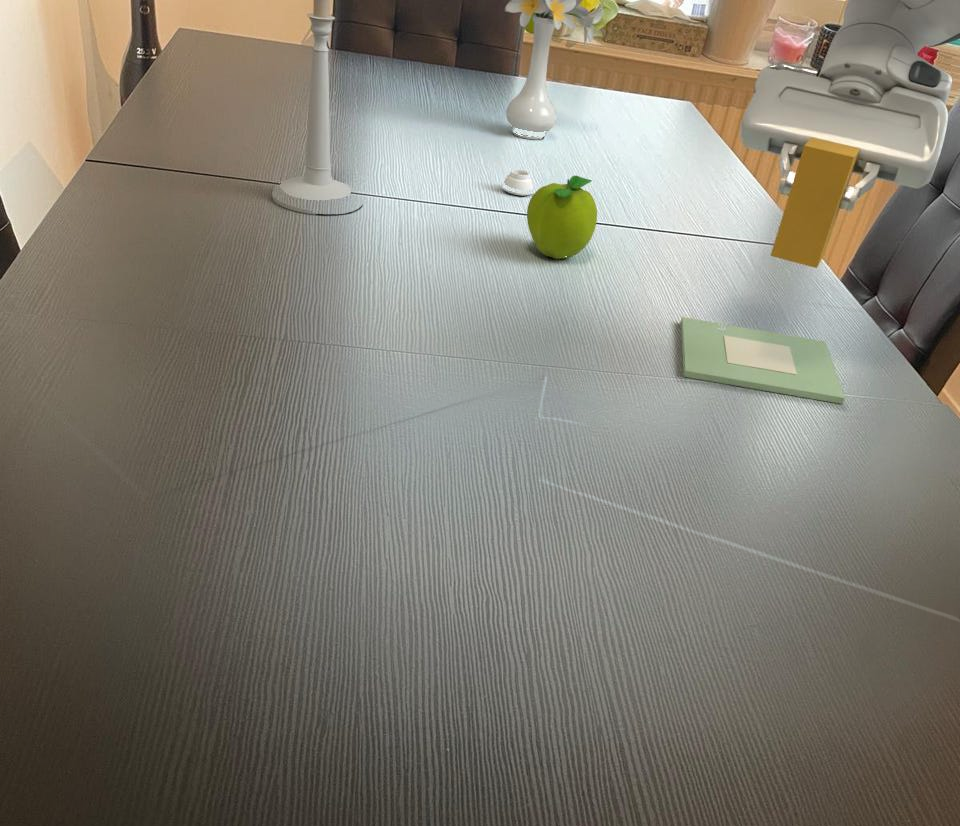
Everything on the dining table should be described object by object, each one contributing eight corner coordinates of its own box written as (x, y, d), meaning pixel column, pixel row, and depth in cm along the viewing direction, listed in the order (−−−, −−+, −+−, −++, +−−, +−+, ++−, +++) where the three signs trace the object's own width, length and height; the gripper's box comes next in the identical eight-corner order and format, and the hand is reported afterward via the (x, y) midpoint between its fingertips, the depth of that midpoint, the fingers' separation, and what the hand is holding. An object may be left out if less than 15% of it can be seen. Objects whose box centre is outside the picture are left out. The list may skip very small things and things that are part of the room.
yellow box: (779, 243, 112) (812, 135, 105) (824, 255, 110) (861, 147, 103) (770, 256, 108) (804, 145, 101) (816, 268, 107) (854, 156, 100)
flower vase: (579, 152, 184) (607, -10, 168) (479, 135, 184) (497, -28, 169) (583, 135, 194) (609, -19, 178) (487, 119, 194) (506, -36, 179)
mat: (823, 347, 126) (826, 340, 126) (842, 404, 114) (845, 397, 113) (680, 322, 127) (682, 315, 126) (683, 377, 114) (685, 369, 114)
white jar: (538, 192, 162) (509, 185, 163) (541, 173, 160) (512, 165, 161) (525, 199, 158) (496, 191, 160) (528, 179, 156) (499, 171, 158)
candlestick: (254, 191, 145) (249, -61, 126) (327, 182, 153) (333, -58, 134) (306, 220, 139) (309, -42, 120) (380, 209, 146) (394, -39, 127)
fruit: (600, 257, 142) (615, 181, 136) (567, 273, 136) (581, 194, 129) (544, 238, 145) (556, 163, 139) (509, 252, 139) (520, 175, 132)
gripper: (767, 37, 105) (719, 156, 104) (969, 80, 100) (921, 206, 100) (762, 79, 111) (717, 192, 110) (953, 121, 107) (907, 240, 106)
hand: (815, 199), depth 105 cm, fingers closed on yellow box, 5 cm apart
